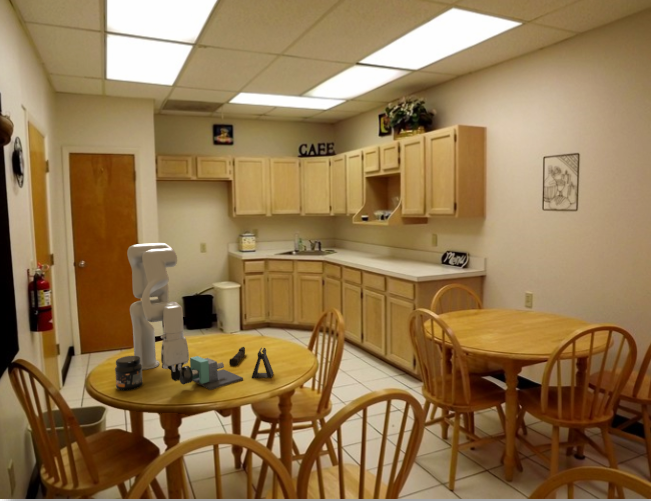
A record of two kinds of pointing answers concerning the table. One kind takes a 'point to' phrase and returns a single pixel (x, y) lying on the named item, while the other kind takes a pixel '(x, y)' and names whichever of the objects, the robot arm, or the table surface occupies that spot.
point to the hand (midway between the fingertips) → (175, 379)
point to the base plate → (221, 380)
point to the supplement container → (128, 373)
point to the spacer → (200, 368)
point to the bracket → (212, 371)
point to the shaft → (191, 373)
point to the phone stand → (266, 363)
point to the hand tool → (237, 357)
